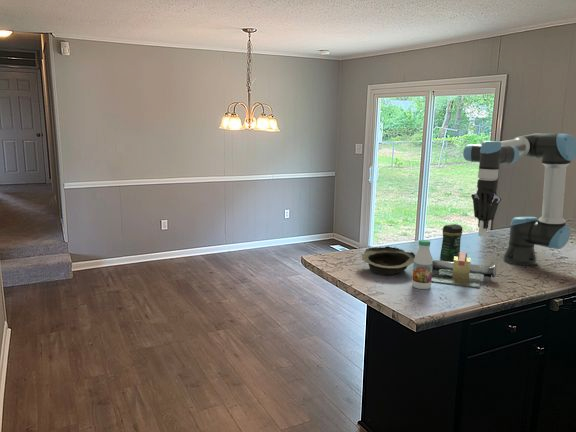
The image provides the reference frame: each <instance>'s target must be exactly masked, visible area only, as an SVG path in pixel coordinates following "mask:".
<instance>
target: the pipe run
mask: <svg viewBox="0 0 576 432" xmlns="http://www.w3.org/2000/svg"><path fill="white" fill-rule="evenodd" d="M432 260H433V264H432V279H431V283H436V284H442V285H451V286H458V287H466V288H473V289H481V279H480V277H481V275H483V277H482V280H483V281H482V282H484V283H489V284H491V282H492V278H493V279H495V278H496V274H497V265H496V264H493V265H492V266H489V265H482V264H481V265H480V264H471V260H472V259H471V257H467V259H466V260H465V265H464V266H459V265H458V264H459V259H458V256H454V262H448V261H443V260H438V259H432Z"/></svg>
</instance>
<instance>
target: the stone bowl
mask: <svg viewBox="0 0 576 432" xmlns="http://www.w3.org/2000/svg"><path fill="white" fill-rule="evenodd" d="M415 255H416V254H415V253H414V252H412V251H411V252H410V251H406V250H404V249H402V248H399V247H395V246H394V247H392V246H389V245H386V246H384V247H383V246H378V247H377V246H376V247H368V248H366V249H365V251H364V252H363V253H361V259H362V261H364V262H365V264H367V265H368V267H369V270H371V272H373V273H374V274H378V275H384V276H389V275H395V274H398V273H401V272H403V271H406V270H407V268H408V267H409V266H410V265H412V264H414V258H415Z"/></svg>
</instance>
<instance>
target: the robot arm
mask: <svg viewBox="0 0 576 432" xmlns="http://www.w3.org/2000/svg"><path fill="white" fill-rule="evenodd" d="M462 155H463V158H464V160H465V161H466V162H467V161H468V162H471V163H473V162H475V163H479V164H478V165H479V166H478V173H477V174H478V175H477V178H478V179H477V185H476V188H477V190H476V193H473V194H471V198H472V204H473V213H474V218H475V219H477V220H478V223H477V227H478V237H486V236H487V229H489V221H494V218H495V215H496V213H497V209H498V207H499V204H500V202H501V201H502V198H501V197H498V196H497V189H498V178H499V171H500V165H510V164H514V163H516V162H517V161H518V160H519V158H522V157H525V158H534V159H541V165H543V166H544V177H543V192H542V193H543V195H542V208H541V216H540V217H539V218H538V217H536V216H515V217H513V218H512V219H511V222H510V225H509V227H510V228H509V238H508V246H507V247H506V250H505V251H504V254H503V257H502V258H503V259H502V260H503V261H504V262H506V263H508V264H511V265H512V264H513V265H519V266H535V265H536V264H537V256H536V251H535V246H540V247H544V248H548V249H552V250H553V249H554V250H561V249H563V248H564V247H565V246H566V245H567V244H568V242H569V239H570V237H571V232H572V231H571V228H570V227H569V226H568V225H567V221H566V219H565V218H564V215H563V214H564V205H565V204H564V200H565V192H566V191H565V189H566V187H565V186H566V179H567V178H566V177H567V176H566V175H567V167H568V166H570V164H571V162H572V161H573V160H574V159H575V158H576V138H575V137H574V135H572V134H570V133H569V134H568V133H557V132H556V133H555V132H554V133H548V132H547V133H546V132H545V133H544V132H542V133H540V132H537V133H536V132H535V133H532V134H531V133H530V134H526V135H522V136H521V135H520V136H516V137H514V138H513V139H508V140H502V141H500V140H499V141H497V140H483V141H482V142H481V144H480V143H479V144H474V143H471V144H470V143H469V144H467V145H465V147H464V149H463V152H462Z"/></svg>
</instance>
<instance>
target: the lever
mask: <svg viewBox="0 0 576 432" xmlns="http://www.w3.org/2000/svg"><path fill="white" fill-rule="evenodd" d="M467 256H468V253H467V252H463V251H462V252H461V251H460V252H459V253H458V259H459V264H458V265H459V266H464V265H465V260H466V259H467V258H468V257H467Z"/></svg>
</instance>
